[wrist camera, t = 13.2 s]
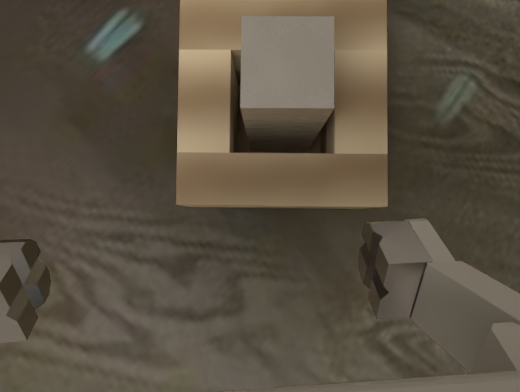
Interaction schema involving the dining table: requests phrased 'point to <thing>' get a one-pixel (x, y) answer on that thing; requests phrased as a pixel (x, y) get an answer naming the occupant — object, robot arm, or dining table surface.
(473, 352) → the robot arm
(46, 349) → the dining table surface
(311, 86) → the grey square peg
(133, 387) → the dining table surface
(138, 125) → the dining table surface
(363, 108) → the frame
